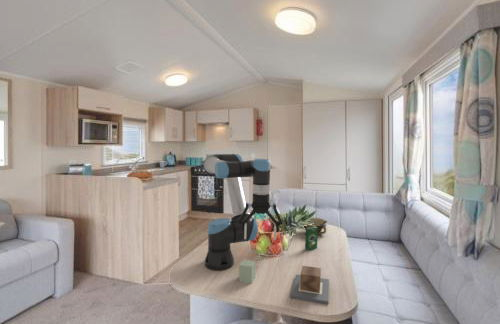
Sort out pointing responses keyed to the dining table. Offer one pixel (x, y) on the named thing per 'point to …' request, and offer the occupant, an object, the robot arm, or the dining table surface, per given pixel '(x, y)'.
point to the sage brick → (247, 271)
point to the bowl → (318, 224)
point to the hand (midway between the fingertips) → (260, 238)
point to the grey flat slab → (309, 295)
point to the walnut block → (310, 279)
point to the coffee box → (311, 238)
